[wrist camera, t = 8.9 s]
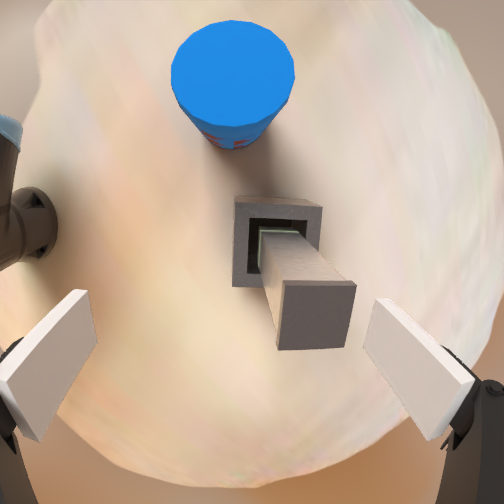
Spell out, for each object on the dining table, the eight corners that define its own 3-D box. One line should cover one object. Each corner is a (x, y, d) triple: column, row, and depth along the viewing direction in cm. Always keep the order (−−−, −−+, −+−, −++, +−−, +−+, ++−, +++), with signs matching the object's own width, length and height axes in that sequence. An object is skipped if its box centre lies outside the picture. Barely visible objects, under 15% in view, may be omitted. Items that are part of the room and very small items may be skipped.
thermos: (227, 77, 42) (223, 1, 18) (277, 113, 45) (321, 63, 21) (186, 126, 44) (143, 86, 20) (237, 163, 47) (243, 155, 23)
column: (255, 265, 43) (277, 356, 21) (257, 225, 41) (284, 285, 20) (291, 266, 43) (342, 353, 22) (295, 226, 42) (356, 285, 20)
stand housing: (232, 264, 51) (232, 289, 41) (234, 195, 48) (235, 202, 37) (299, 266, 52) (315, 290, 42) (305, 199, 49) (324, 207, 38)
